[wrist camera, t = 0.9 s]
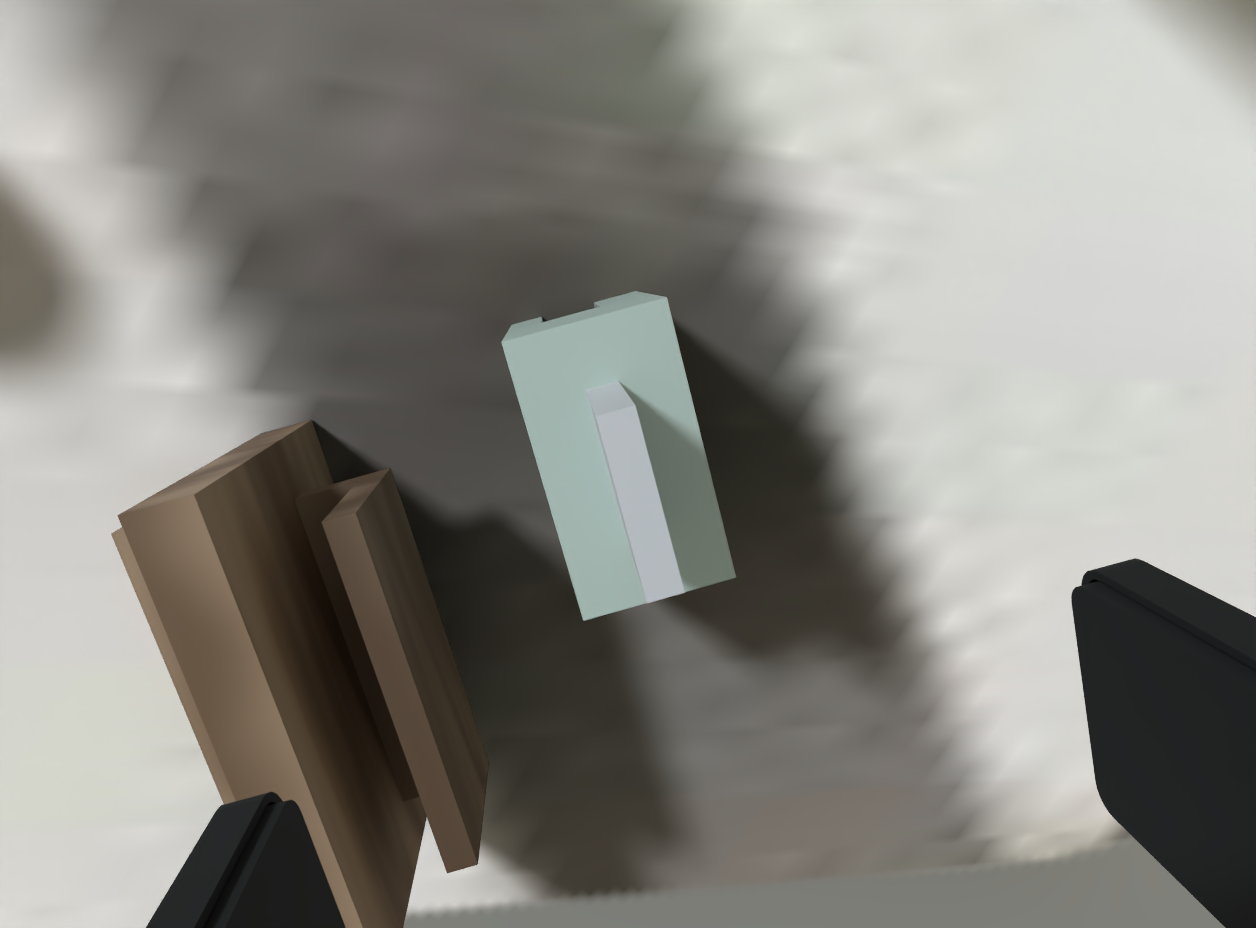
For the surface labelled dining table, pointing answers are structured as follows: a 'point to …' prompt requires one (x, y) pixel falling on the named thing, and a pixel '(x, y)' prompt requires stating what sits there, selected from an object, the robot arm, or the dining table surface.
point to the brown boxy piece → (314, 660)
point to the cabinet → (619, 452)
